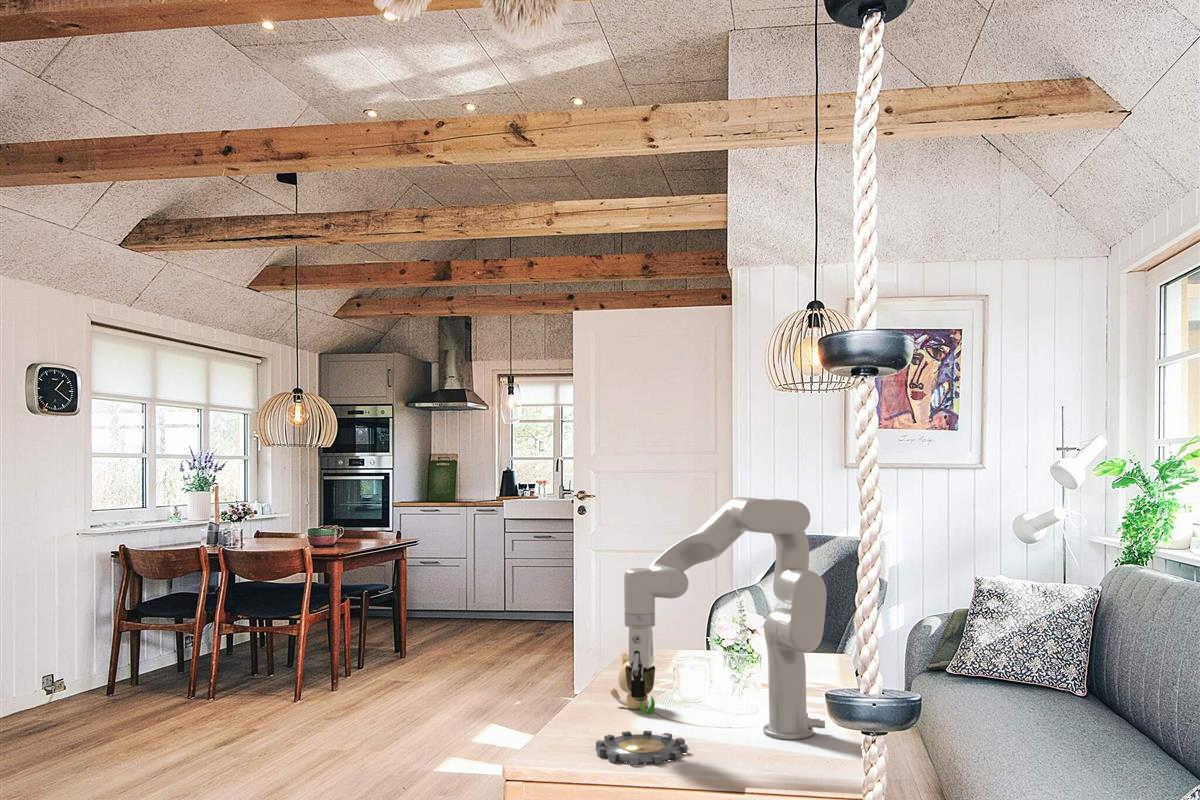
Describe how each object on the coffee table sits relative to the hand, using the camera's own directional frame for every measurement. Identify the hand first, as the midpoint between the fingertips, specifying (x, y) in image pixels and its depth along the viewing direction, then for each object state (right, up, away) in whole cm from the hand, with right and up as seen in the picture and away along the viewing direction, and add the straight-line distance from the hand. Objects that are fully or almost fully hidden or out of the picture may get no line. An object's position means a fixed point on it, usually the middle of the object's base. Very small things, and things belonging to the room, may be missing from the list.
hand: (640, 692), depth 238 cm
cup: (0, -2, 0) cm, 2 cm away
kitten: (+1, -16, +39) cm, 42 cm away
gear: (0, -14, -1) cm, 14 cm away
